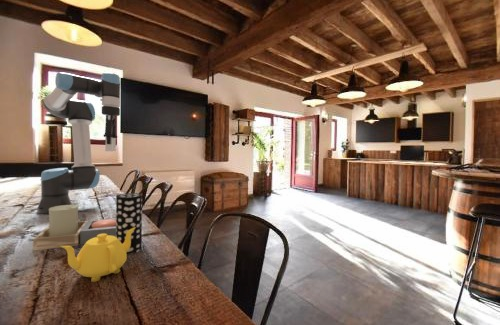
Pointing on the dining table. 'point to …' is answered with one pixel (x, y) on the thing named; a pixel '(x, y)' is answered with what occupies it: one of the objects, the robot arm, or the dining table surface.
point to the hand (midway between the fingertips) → (110, 151)
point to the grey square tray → (95, 231)
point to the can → (63, 220)
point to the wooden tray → (57, 239)
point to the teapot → (100, 256)
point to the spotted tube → (129, 219)
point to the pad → (104, 224)
